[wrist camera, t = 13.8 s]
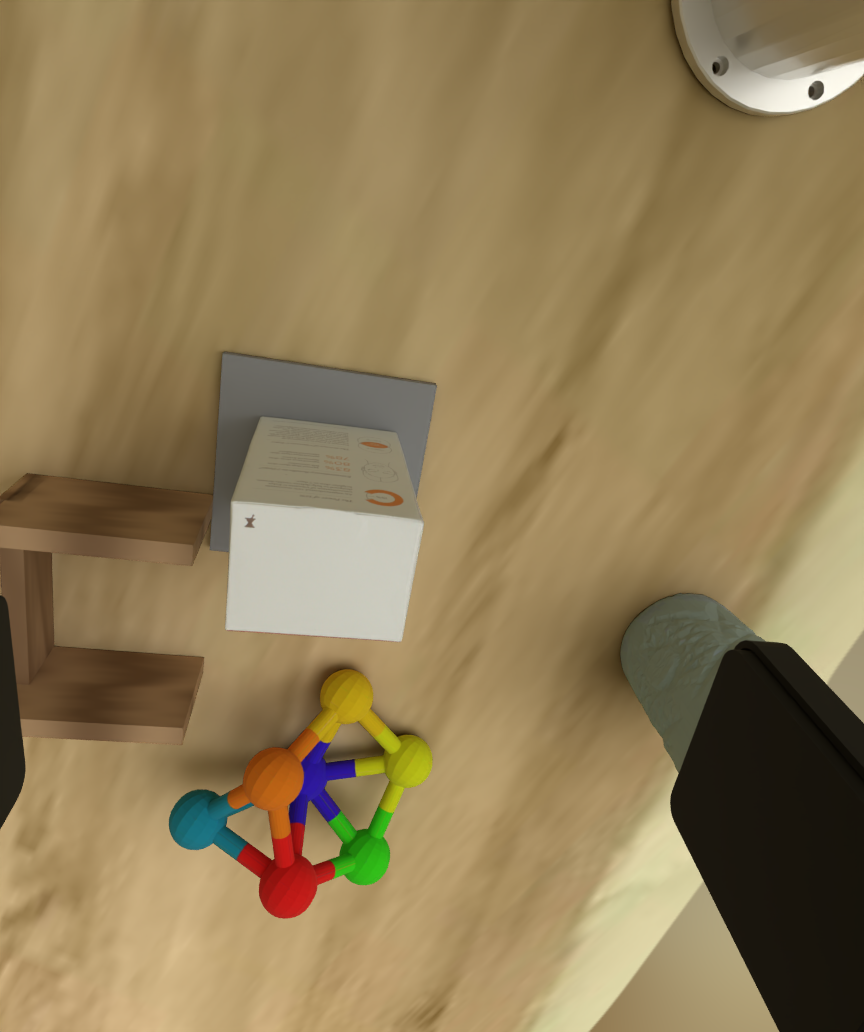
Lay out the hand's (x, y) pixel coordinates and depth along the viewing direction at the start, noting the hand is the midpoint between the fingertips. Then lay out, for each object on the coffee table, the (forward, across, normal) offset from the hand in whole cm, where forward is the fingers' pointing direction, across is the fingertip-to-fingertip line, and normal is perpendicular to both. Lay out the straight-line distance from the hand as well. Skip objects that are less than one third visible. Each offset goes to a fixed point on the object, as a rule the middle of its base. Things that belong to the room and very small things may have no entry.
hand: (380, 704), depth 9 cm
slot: (+32, +13, +18) cm, 39 cm away
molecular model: (+32, 0, +31) cm, 45 cm away
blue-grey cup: (+33, -25, +20) cm, 46 cm away
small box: (+32, +1, +9) cm, 34 cm away
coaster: (+33, +2, +9) cm, 34 cm away
